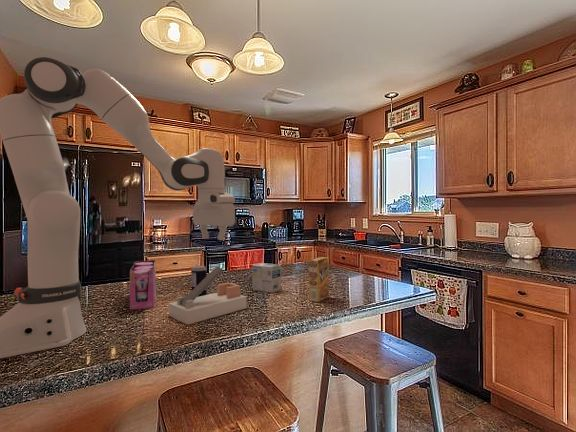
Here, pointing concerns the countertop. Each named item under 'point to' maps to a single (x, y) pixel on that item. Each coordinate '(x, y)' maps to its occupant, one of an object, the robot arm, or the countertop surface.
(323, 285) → the candy box
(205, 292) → the beverage can
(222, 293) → the hinged pedal on base
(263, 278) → the light bulb box
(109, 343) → the countertop surface
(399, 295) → the countertop surface
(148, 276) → the gum box
